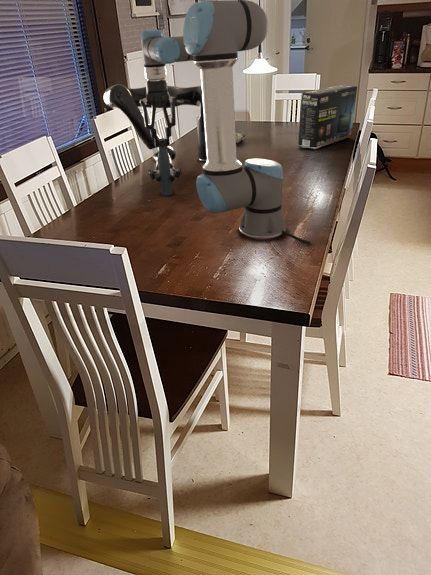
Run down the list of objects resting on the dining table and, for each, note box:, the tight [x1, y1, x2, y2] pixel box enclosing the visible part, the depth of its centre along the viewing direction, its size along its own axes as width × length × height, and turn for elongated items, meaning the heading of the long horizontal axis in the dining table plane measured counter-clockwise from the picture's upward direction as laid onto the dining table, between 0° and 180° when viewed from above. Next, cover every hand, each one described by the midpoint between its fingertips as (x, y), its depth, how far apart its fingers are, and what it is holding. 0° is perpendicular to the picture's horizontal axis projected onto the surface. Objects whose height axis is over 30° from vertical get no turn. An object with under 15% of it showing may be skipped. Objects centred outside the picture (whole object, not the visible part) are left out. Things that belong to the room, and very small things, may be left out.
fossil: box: [235, 129, 247, 144], centre depth 253 cm, size 18×11×15 cm
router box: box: [297, 84, 358, 151], centre depth 238 cm, size 36×11×27 cm, turn 134°
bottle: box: [157, 147, 174, 197], centre depth 180 cm, size 5×5×21 cm
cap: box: [157, 137, 167, 148], centre depth 175 cm, size 4×4×2 cm
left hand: (165, 179), depth 179 cm, fingers closed on bottle, 4 cm apart
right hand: (162, 146), depth 175 cm, fingers closed on cap, 4 cm apart
